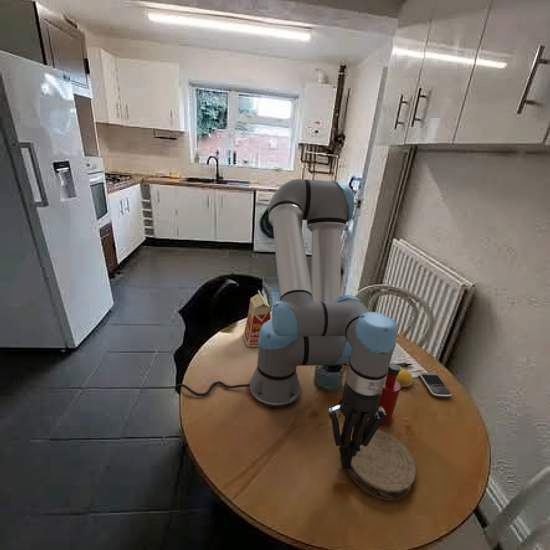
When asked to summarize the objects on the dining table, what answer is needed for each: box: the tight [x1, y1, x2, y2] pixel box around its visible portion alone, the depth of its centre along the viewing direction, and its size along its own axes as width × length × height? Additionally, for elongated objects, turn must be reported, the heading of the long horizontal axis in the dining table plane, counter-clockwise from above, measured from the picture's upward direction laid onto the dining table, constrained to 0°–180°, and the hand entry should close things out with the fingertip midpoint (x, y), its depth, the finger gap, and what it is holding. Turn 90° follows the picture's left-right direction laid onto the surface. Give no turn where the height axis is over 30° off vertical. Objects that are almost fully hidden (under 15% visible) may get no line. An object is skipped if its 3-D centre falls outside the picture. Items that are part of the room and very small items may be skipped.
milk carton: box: [242, 289, 272, 348], centre depth 115 cm, size 9×9×20 cm
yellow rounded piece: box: [386, 364, 414, 388], centre depth 104 cm, size 8×9×4 cm
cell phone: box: [418, 372, 452, 398], centre depth 102 cm, size 6×11×1 cm, turn 1°
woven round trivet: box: [346, 429, 417, 501], centre depth 74 cm, size 16×16×3 cm
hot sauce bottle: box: [378, 362, 402, 426], centre depth 85 cm, size 6×6×18 cm
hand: (344, 463), depth 73 cm, fingers closed
